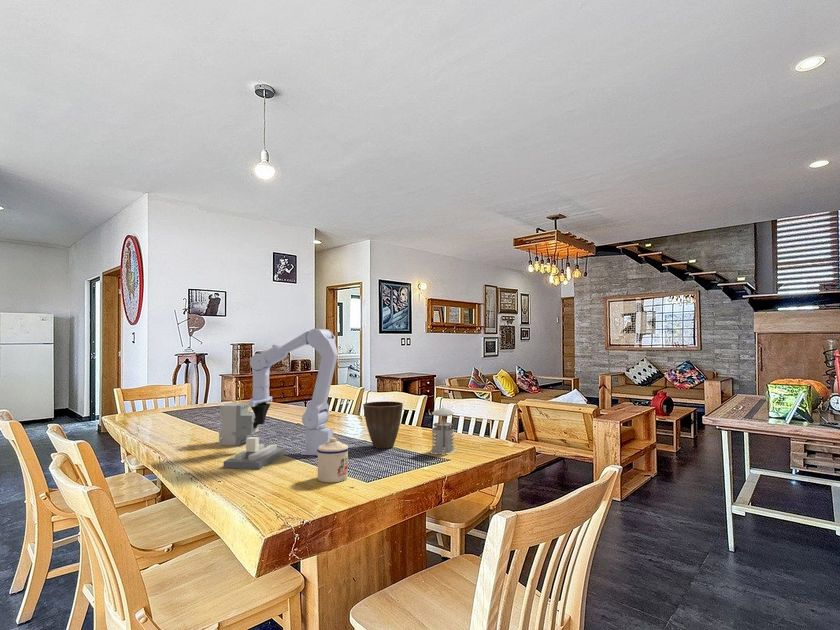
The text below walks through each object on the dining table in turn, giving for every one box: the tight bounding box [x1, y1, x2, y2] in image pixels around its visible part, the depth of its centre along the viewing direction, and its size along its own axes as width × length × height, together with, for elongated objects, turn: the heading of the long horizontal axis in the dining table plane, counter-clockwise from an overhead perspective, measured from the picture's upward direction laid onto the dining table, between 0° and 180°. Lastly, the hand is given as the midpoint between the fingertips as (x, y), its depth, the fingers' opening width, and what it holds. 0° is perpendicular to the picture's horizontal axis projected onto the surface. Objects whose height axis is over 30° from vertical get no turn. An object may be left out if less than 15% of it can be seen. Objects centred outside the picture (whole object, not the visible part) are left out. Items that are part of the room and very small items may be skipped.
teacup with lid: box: [317, 436, 350, 484], centre depth 137 cm, size 12×9×12 cm
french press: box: [430, 381, 457, 455], centre depth 166 cm, size 10×12×25 cm
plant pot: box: [362, 400, 404, 449], centre depth 175 cm, size 15×15×16 cm
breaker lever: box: [245, 436, 260, 457], centre depth 153 cm, size 3×3×6 cm
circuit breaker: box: [218, 402, 260, 446], centre depth 183 cm, size 8×14×15 cm, turn 89°
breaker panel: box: [223, 443, 288, 470], centre depth 156 cm, size 20×12×4 cm, turn 172°
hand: (260, 423), depth 171 cm, fingers closed
